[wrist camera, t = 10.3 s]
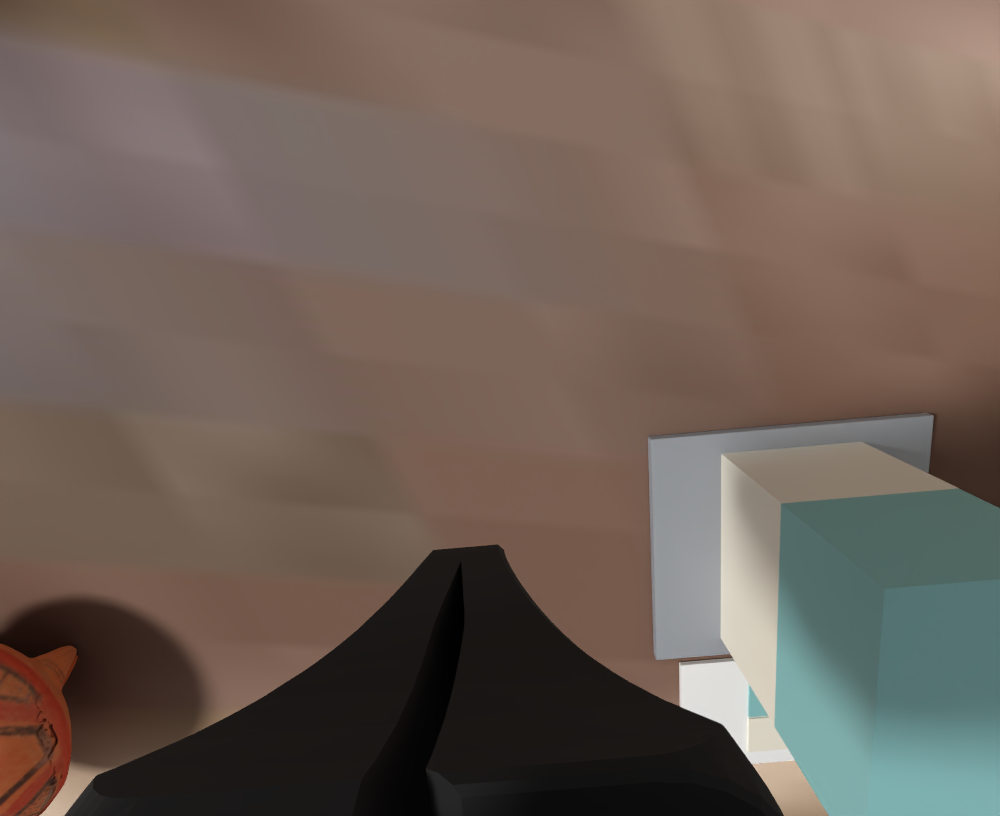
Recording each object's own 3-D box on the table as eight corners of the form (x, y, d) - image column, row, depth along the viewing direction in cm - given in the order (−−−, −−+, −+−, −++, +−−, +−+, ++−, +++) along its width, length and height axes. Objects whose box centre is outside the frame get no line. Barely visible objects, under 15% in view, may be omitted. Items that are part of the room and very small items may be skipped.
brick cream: (849, 626, 23) (935, 713, 18) (720, 637, 23) (774, 726, 18) (861, 441, 21) (959, 488, 17) (721, 453, 21) (781, 503, 17)
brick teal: (934, 713, 18) (1073, 853, 14) (774, 726, 18) (862, 871, 14) (958, 488, 17) (1126, 568, 12) (781, 503, 17) (884, 588, 12)
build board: (906, 632, 23) (913, 638, 23) (653, 653, 23) (656, 659, 23) (925, 412, 21) (934, 415, 21) (648, 436, 21) (650, 439, 21)
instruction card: (871, 749, 25) (876, 755, 24) (680, 765, 25) (682, 771, 24) (880, 645, 23) (885, 650, 23) (679, 662, 23) (681, 667, 23)
